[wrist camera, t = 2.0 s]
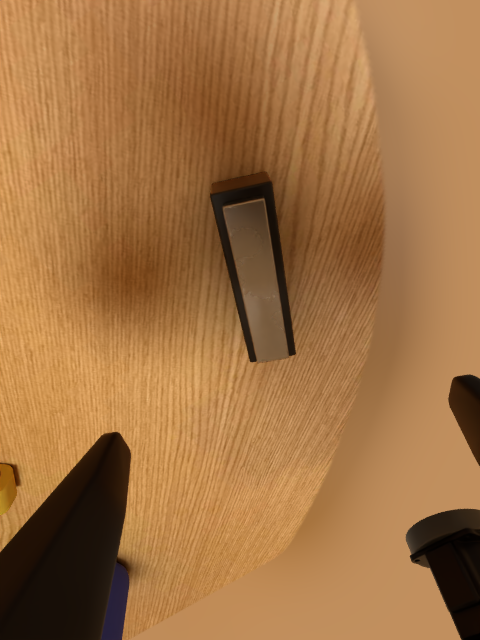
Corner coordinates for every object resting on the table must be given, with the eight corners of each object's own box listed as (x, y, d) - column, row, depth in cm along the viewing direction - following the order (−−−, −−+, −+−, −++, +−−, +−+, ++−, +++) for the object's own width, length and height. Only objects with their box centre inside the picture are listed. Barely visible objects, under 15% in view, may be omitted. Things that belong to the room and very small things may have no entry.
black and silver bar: (290, 332, 19) (298, 363, 17) (248, 340, 19) (251, 371, 17) (266, 170, 14) (274, 184, 12) (211, 182, 14) (208, 198, 12)
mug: (73, 597, 39) (32, 732, 31) (47, 550, 32) (-15, 707, 24) (145, 596, 40) (123, 729, 31) (133, 549, 33) (102, 703, 25)
